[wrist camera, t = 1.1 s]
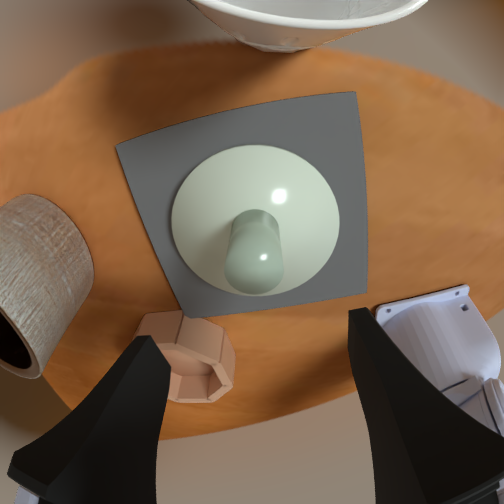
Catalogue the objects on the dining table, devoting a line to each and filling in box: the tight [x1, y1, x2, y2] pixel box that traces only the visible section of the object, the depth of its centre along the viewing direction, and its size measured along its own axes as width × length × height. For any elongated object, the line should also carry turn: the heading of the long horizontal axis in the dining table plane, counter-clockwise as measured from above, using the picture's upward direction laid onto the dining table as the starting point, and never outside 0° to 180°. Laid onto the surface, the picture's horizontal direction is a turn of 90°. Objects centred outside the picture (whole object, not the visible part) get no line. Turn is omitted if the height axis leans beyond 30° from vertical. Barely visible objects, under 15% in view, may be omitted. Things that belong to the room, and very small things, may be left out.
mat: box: [115, 91, 368, 319], centre depth 18 cm, size 14×14×1 cm
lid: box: [171, 144, 339, 296], centre depth 16 cm, size 10×10×5 cm
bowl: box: [131, 310, 236, 403], centre depth 24 cm, size 9×9×4 cm
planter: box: [0, 194, 94, 379], centre depth 16 cm, size 11×11×10 cm
